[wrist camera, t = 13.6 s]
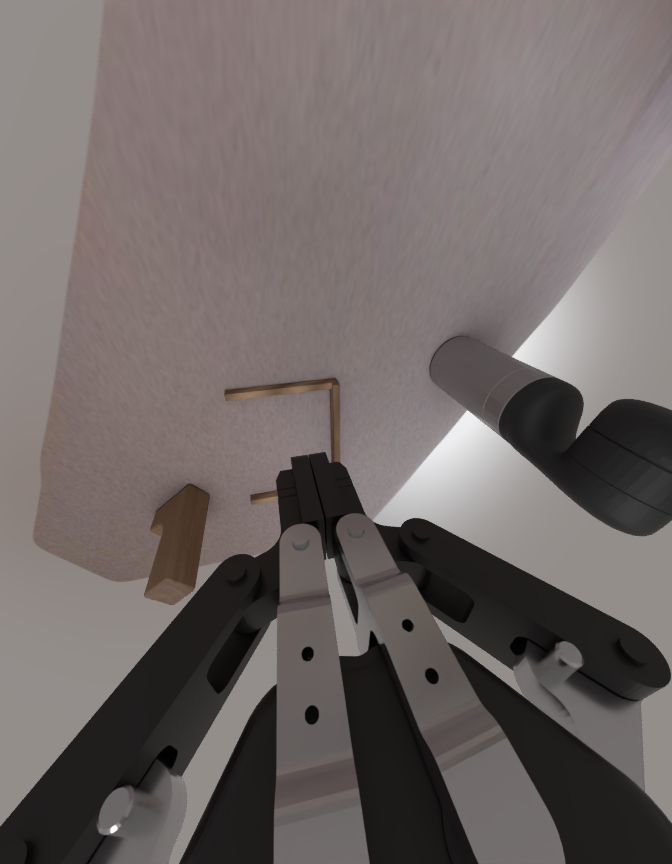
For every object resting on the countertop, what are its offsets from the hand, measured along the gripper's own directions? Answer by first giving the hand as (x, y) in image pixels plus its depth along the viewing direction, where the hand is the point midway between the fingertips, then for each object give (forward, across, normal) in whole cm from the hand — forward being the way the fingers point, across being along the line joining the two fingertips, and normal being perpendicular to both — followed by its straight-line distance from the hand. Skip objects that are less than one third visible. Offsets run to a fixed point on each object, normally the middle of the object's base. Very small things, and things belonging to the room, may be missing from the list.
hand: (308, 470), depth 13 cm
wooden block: (+33, +20, +32) cm, 50 cm away
